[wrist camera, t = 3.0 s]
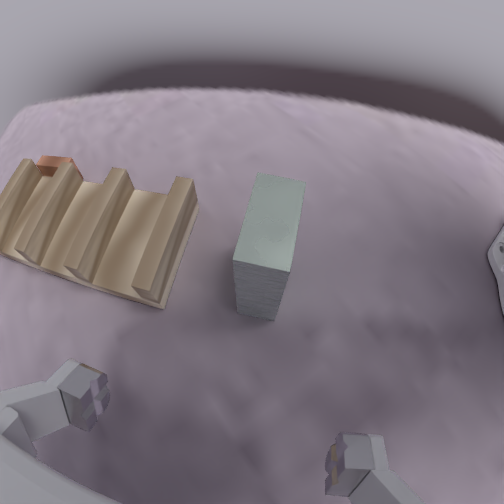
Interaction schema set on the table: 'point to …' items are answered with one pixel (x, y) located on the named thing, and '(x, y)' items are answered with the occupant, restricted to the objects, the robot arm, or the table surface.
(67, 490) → the robot arm
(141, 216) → the rack
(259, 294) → the block
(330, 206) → the table surface
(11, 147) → the table surface
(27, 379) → the table surface
